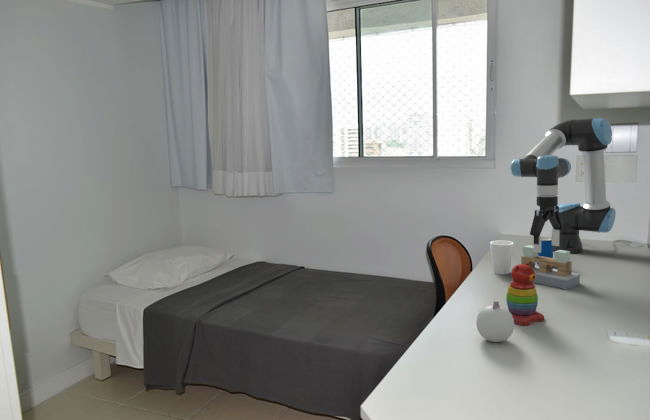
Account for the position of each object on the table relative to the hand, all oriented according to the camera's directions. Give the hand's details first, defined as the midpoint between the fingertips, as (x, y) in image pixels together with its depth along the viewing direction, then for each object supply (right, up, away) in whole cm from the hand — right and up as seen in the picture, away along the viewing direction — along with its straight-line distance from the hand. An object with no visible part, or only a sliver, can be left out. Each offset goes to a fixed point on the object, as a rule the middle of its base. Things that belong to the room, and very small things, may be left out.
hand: (546, 248), depth 196 cm
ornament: (-38, -23, -52) cm, 69 cm away
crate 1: (-4, -3, +5) cm, 8 cm away
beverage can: (+10, -9, +24) cm, 27 cm away
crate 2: (+4, -4, -5) cm, 8 cm away
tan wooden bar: (0, -9, +1) cm, 9 cm away
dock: (0, -13, +2) cm, 13 cm away
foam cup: (-12, -12, +16) cm, 23 cm away
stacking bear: (-24, -20, -37) cm, 48 cm away
